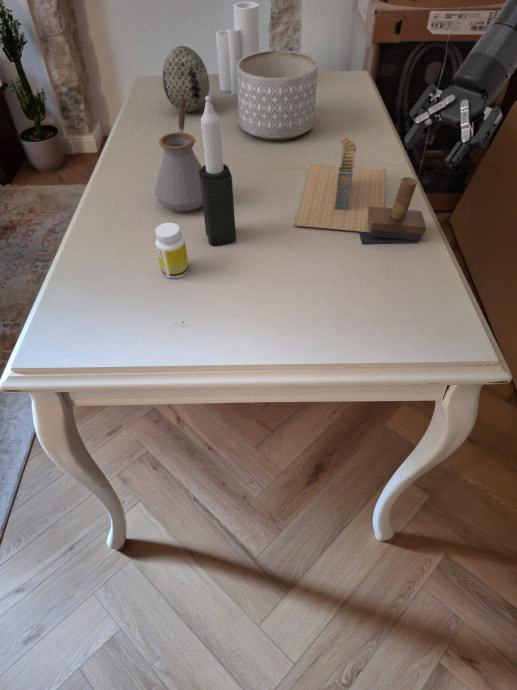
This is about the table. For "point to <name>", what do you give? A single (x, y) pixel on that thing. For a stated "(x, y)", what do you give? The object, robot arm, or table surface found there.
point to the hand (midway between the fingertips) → (426, 155)
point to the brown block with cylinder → (398, 216)
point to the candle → (216, 183)
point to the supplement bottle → (171, 250)
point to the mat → (381, 239)
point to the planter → (276, 93)
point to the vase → (237, 44)
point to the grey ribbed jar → (179, 170)
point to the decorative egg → (185, 78)
